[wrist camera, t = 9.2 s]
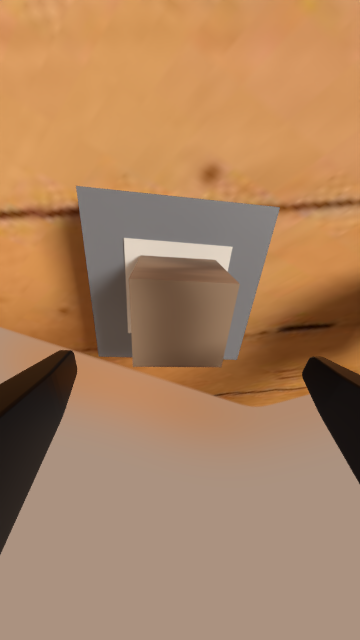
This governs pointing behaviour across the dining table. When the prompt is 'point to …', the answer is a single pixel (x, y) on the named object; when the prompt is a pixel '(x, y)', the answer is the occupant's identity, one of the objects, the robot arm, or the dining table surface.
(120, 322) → the plinth
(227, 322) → the walnut cube
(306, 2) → the dining table surface
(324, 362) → the robot arm
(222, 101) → the dining table surface
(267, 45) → the dining table surface
